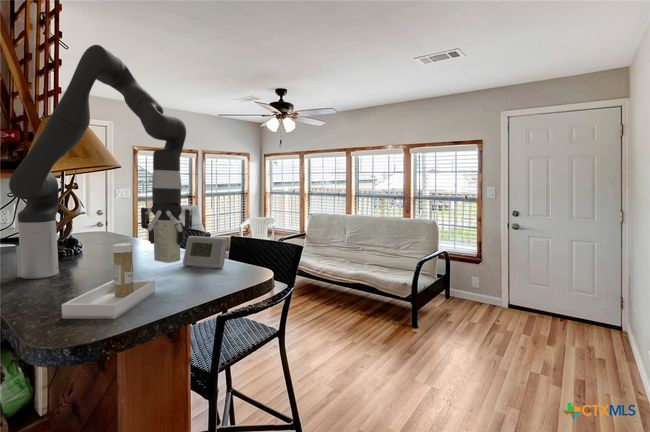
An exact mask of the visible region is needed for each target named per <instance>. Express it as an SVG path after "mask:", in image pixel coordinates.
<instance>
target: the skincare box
mask: <svg viewBox="0 0 650 432" xmlns="http://www.w3.org/2000/svg"><path fill="white" fill-rule="evenodd" d="M177 221H179V220H177ZM153 231H154V244H153V253H154V254H153V255H154V256H153V258H154V261H155V262H161V263H165V264H166V263H167V264H172V263H176V262H179V261H181V245H178V232H179V230H178V229H177V227H176V226H175V225H174V224H173V221H172V220H157V222H156V224H155V226H154V228H153Z"/></svg>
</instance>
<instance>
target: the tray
mask: <svg viewBox="0 0 650 432" xmlns="http://www.w3.org/2000/svg"><path fill="white" fill-rule="evenodd" d="M133 288H134V292H133V293H131V294H129V295H128V296H126V297H117V296H115V283H114V279H112V280H110V281H108V282H106V283H104V284H102V285H100V286H98V287H95V288H93V289H92V290H89V291H87V292H85V293H83V294H81V295H79V296H77V297H75V298H73V299H70V300H69V301H66V302H64V303H62V304H61V315H62V316H61V318H62V319H79V320H81V319H84V320H85V319H88V320H89V319H92V320H93V319H95V320H96V319H97V320H98V319H99V320H100V319H101V320H104V319H105V320H116V319H118V318H119V317H121V316H122V315H124V314H125V313H126V312H128V311H129V310H131V309H132V308H133V307H136V306H137V305H139V304H140V303H141V302H143V301H144V300H146V299H147V298H149V297H150V296H152V295H153V294H155V293H156V290H157V289H156V280H133Z"/></svg>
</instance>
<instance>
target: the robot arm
mask: <svg viewBox="0 0 650 432" xmlns="http://www.w3.org/2000/svg"><path fill="white" fill-rule="evenodd" d="M75 68H76V69H75V70H74V72H73V75H72V77H71V79H70V81H69V83H68V85H67V87H66V90H65V92H64V93H63V95H62V97H61V99H60V101H59V102H58V103H57V105H56V107H54V110H53V111H52V113H51V115H50V116H49V118H48V120H47V121H46V123H45V125H44V127H43V129H42V130H41V133H40V134H39V136H38V137H37V139H36V141H35V142H34V144H33V145H32V148H31V149H30V150H29V151H28V153H27V154H26V156H25V157H24V158H23V160H22V161H21V162H20V163H19V165H18V166H17V168H15V170H14V171H13V173H12V174H11V176H10V177H9V181H8V182H9V183H8V188H9V191H10V193H11V194H12V195H13V197H15V198H17V199H19V200H26V205H25V206H24V208H23V209H22V210H20V211H19V212H18V213H17V224H18V225H17V227H18V228H17V229H18V242H19V245H17V246H16V248H15V250H16V267H17V277H18V278H22V279H29V280H31V279H34V280H35V279H42V278H43V279H44V278H49V277H54V276H56V275H58V274H59V273H60V272H59V270H60V269H59V255H58V236H57V235H58V232H57V231H58V230H57V214H58V211H59V206H60V205H59V201H60V200H59V198H60V197H59V195H60V194H59V193H60V192H59V191H60V189H59V182H58V179H57V177H56V176H55V175H54V174H53V173H52V172H51V171H52V168H53V167H54V166H55V164H57V162H58V161H59V160H60V159H62V158H63V157H64V156H65V155H67V153H69V152H70V151H71V150H73V148H74V147H76V146H77V145H78V144H79V143H80V142H81V139H82V138H83V136H84V135H85V134H86V131H87V130H88V128H89V125H90V122H91V113H90V94H91V93H90V92H91V90H92V88H93V86H94V84H95V82H96V81H99V82H100V83H102V84H104V85H108V86H109V87H111V88H112V89H114V90H115V91H117V92H118V93H120V94H121V95H122V96H123V99H124V102H125V104H126V106H127V107H128V108H129V109H130V110H131V111H132V113H133V114H135V116H137V117H138V119H139V120H140V122H141V124H142V127H143V128H144V130H145V133H146V134H147V135H149V137H151V138H152V139H155V140H159V141H165V144H164V148H158V149H155V150H154V151H153V153H152V155H153V156H152V170H153V171H152V177H151V180H152V181H151V190H152V191H151V195H152V197H151V201H152V206H151V207H148V206H144V207H141V208H140V226H141V227H140V228H141V229H145V230H147V231H148V241H149V243H150V244H151V245H152V244H153V245H154V231H153V228H154V226H155V224H156V222H157V220H172V221H173V224H174V225H175V226H176V227H177V229H178V230H179V232H178V245H180V246H181V245H183V244H184V243H185V241H186V231H189V230H191V229H192V228H193V209H192V208H183V207H182V178H181V176H182V175H181V155H182V152H183V148H184V144H185V142H186V137H187V127H186V125H185V123H184V121H183V120H182V119H181V118H180V117H177V116H172V115H166V114H164V109H163V107H162V105H161V104H160V103H159V101H158V100H157V99H155V98H154V97H153V96H152V95H151V94H150V93H149V92H148V91H147V90H146V89H145V88H144V87H143V86H142V85H141V84H140V83H139V82H138V80H137V79H136V78H135V76H134V75H133V73H132V72H131V71H130V69H129V68H128V66H127V65H126V63H125V62H124V61H123V60H122V59H121V58H119V57H118V56H117V55H115V54H114V53H112V52H111V51H110V50H108V49H106V48H105V47H104V46H102V45H100V44H93V45H91V46H89V47H88V48H87V49H86V50H85V51H84V52H83V53H82V55H81V57H80V59H79V61H78V63H77V66H76V67H75ZM151 213H152V214H153V218H152V219H151V221H150V215H151ZM182 214H183V216H184V223H183V220H182V219H181V217H180V215H182ZM177 220H179V221H177Z"/></svg>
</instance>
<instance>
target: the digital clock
mask: <svg viewBox="0 0 650 432" xmlns="http://www.w3.org/2000/svg"><path fill="white" fill-rule="evenodd" d="M228 243H229V242H228V239H227V237H226V238H225V237H218V236H205V235H204V236H202V235H201V236H200V235H198V236H197V235H189V236H188V237H187V240H186V245H185V250H184V256H183V261H182V264H183V265H182V266H185V267H191V268H202V269H212V270H213V269H220V270H221V269H223V268H224V265H225V260H226V253H227V248H228Z"/></svg>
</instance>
